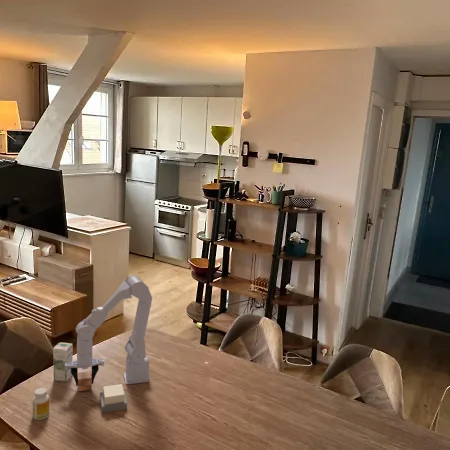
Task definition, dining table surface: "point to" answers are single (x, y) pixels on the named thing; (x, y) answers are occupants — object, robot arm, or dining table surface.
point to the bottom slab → (112, 405)
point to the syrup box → (62, 361)
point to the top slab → (113, 394)
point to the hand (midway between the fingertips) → (84, 383)
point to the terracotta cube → (84, 381)
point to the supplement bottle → (40, 404)
